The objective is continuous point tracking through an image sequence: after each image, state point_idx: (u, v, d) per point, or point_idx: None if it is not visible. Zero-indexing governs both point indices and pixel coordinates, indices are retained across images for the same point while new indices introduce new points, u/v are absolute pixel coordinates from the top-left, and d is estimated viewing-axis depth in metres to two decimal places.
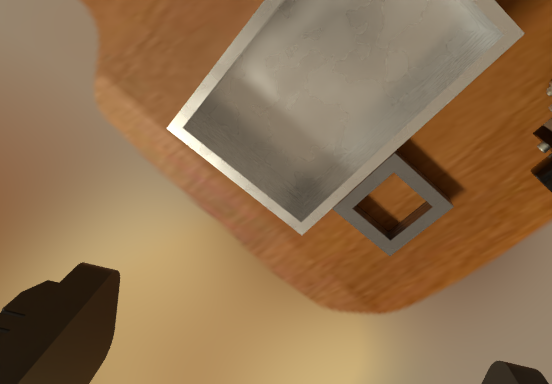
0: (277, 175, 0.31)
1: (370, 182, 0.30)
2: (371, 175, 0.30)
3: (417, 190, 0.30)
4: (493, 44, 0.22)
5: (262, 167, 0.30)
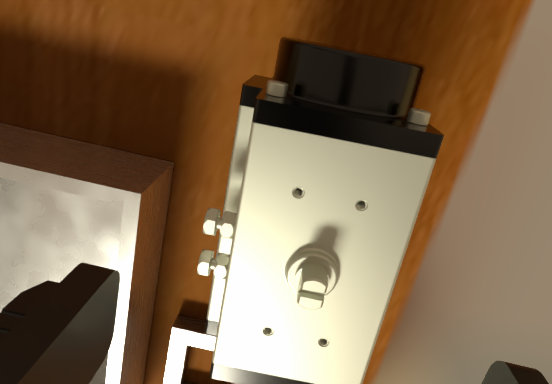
0: None
1: (173, 364, 0.26)
2: (169, 357, 0.26)
3: None
4: (122, 217, 0.19)
5: None
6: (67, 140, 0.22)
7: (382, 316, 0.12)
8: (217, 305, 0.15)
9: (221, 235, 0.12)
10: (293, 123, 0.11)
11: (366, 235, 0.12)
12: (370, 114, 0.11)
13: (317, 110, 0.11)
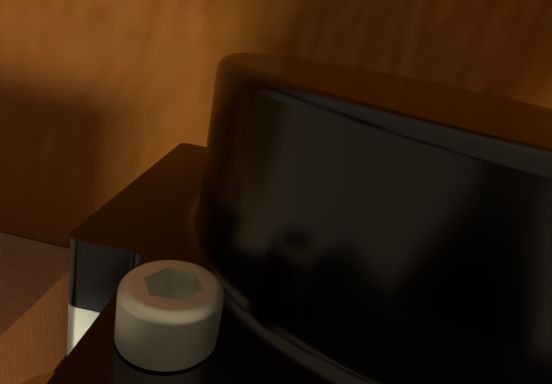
0: None
1: None
2: None
3: None
4: None
5: None
6: None
7: None
8: None
9: None
10: None
11: None
12: None
13: None
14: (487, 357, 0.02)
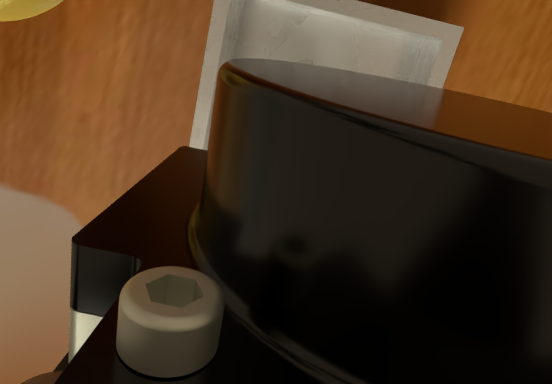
0: None
1: None
2: None
3: None
4: (437, 54, 0.19)
5: None
6: None
7: None
8: None
9: None
10: None
11: None
12: None
13: None
14: (485, 364, 0.02)
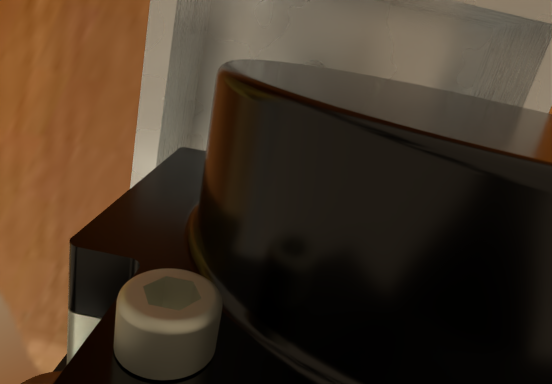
0: None
1: None
2: None
3: None
4: (546, 50, 0.11)
5: None
6: None
7: None
8: None
9: None
10: None
11: None
12: None
13: None
14: (483, 366, 0.02)
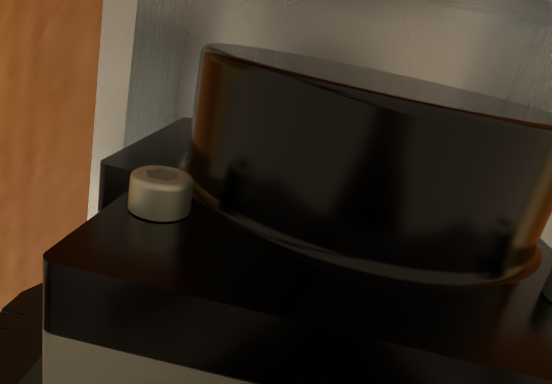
0: None
1: None
2: None
3: None
4: None
5: None
6: None
7: None
8: None
9: None
10: (174, 344, 0.03)
11: None
12: (437, 282, 0.04)
13: (257, 306, 0.03)
14: (338, 212, 0.04)
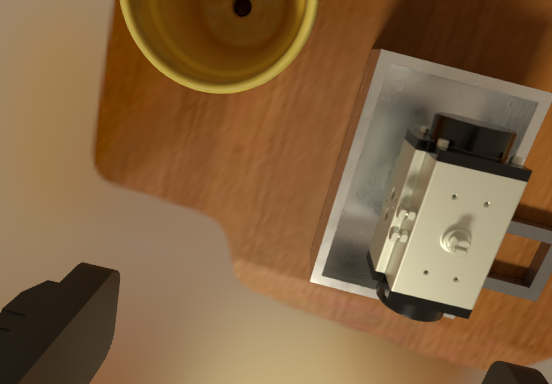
0: None
1: None
2: None
3: (530, 236, 0.33)
4: (534, 111, 0.27)
5: None
6: None
7: (491, 265, 0.23)
8: (383, 262, 0.26)
9: (408, 218, 0.23)
10: (457, 162, 0.21)
11: (487, 220, 0.22)
12: (491, 158, 0.22)
13: (470, 156, 0.21)
14: (476, 146, 0.22)
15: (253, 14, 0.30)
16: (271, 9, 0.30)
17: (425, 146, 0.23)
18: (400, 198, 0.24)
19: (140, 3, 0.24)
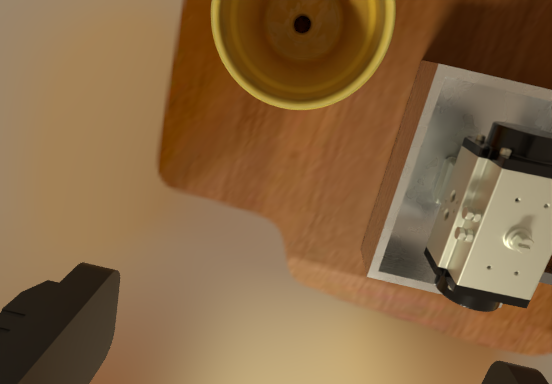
0: None
1: None
2: None
3: None
4: None
5: None
6: None
7: (548, 259, 0.26)
8: (445, 258, 0.28)
9: (474, 219, 0.25)
10: (521, 169, 0.24)
11: (546, 220, 0.25)
12: (550, 164, 0.25)
13: (532, 163, 0.24)
14: (536, 153, 0.25)
15: (313, 31, 0.32)
16: (330, 26, 0.32)
17: (487, 154, 0.26)
18: (463, 201, 0.27)
19: (226, 30, 0.26)
